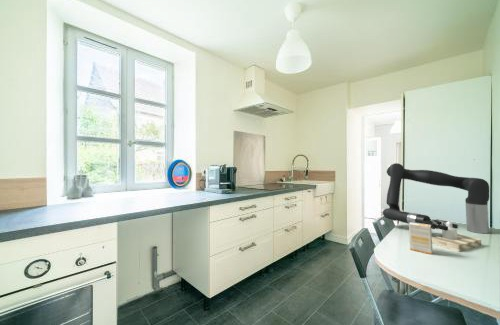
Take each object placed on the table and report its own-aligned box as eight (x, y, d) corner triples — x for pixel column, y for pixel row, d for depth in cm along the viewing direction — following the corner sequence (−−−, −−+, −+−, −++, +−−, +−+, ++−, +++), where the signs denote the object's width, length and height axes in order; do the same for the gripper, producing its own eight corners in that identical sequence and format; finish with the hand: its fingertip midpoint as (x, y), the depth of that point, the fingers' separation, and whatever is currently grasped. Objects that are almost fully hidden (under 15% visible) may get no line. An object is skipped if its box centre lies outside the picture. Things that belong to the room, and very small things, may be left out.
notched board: (453, 238, 114) (453, 233, 114) (481, 245, 104) (481, 239, 104) (431, 243, 108) (431, 237, 108) (458, 251, 97) (458, 245, 97)
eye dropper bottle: (443, 240, 112) (442, 218, 112) (457, 243, 107) (457, 220, 108) (441, 242, 109) (441, 220, 110) (456, 245, 105) (455, 222, 105)
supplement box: (432, 251, 98) (431, 224, 98) (431, 254, 95) (430, 226, 95) (411, 246, 104) (410, 221, 104) (409, 249, 101) (408, 223, 101)
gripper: (410, 215, 120) (444, 222, 105) (425, 212, 125) (460, 219, 110) (410, 227, 120) (444, 236, 105) (426, 225, 125) (460, 232, 109)
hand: (452, 227), depth 107 cm, fingers open, 8 cm apart
